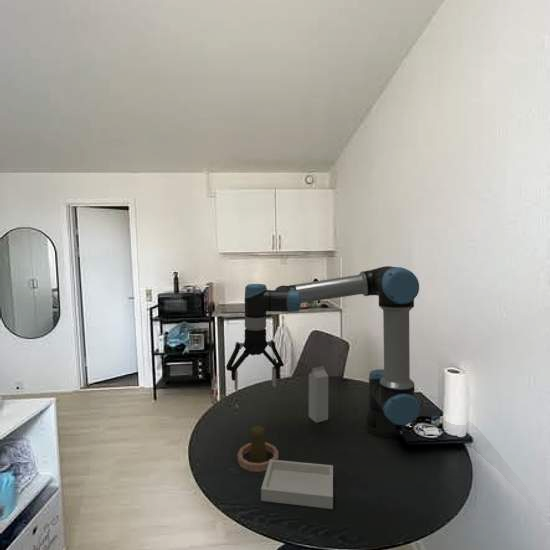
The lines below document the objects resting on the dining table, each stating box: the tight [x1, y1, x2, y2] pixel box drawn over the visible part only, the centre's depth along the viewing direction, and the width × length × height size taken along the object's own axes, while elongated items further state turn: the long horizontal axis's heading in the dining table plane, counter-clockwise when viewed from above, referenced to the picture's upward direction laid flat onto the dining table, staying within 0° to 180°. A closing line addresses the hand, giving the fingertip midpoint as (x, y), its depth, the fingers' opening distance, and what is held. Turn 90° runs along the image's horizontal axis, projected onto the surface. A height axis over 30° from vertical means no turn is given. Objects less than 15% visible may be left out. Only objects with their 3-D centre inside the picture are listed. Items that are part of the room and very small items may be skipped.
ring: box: [237, 441, 279, 473], centre depth 116 cm, size 13×13×2 cm
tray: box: [260, 458, 334, 510], centre depth 102 cm, size 20×14×4 cm
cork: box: [249, 425, 268, 463], centre depth 116 cm, size 6×6×11 cm
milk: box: [308, 365, 329, 424], centre depth 144 cm, size 6×6×22 cm
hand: (255, 387), depth 121 cm, fingers open, 13 cm apart
